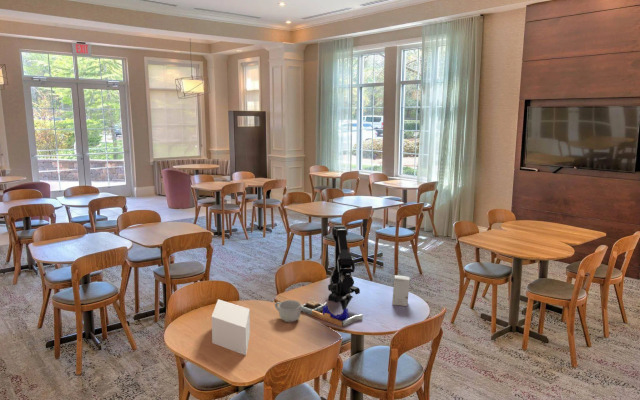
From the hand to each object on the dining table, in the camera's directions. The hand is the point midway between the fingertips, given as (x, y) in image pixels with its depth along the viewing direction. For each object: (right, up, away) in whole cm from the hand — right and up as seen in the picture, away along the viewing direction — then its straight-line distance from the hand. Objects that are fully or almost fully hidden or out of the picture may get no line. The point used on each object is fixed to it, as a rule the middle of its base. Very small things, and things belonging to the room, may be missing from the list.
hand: (343, 309), depth 244 cm
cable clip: (-4, -3, -8) cm, 10 cm away
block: (-52, -6, -31) cm, 60 cm away
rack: (-7, -2, -4) cm, 8 cm away
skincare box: (+31, 0, +12) cm, 33 cm away
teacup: (-28, -2, -9) cm, 30 cm away
